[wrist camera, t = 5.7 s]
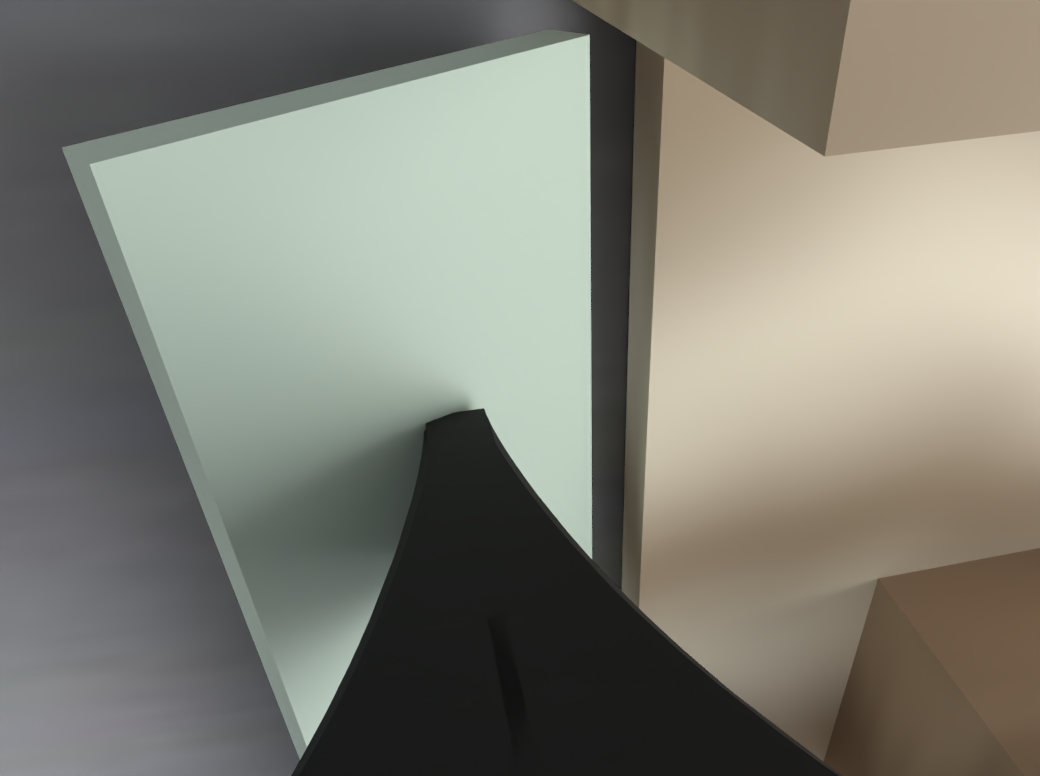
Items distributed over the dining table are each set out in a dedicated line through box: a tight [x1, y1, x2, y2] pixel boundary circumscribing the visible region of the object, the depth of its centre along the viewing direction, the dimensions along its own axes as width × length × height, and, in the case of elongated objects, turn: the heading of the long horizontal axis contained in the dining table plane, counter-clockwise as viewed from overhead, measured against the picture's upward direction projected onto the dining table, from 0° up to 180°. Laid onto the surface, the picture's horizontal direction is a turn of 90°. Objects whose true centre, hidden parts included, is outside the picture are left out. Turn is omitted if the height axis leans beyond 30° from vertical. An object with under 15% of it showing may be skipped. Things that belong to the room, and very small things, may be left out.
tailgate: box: [62, 29, 592, 759], centre depth 12 cm, size 18×1×5 cm
